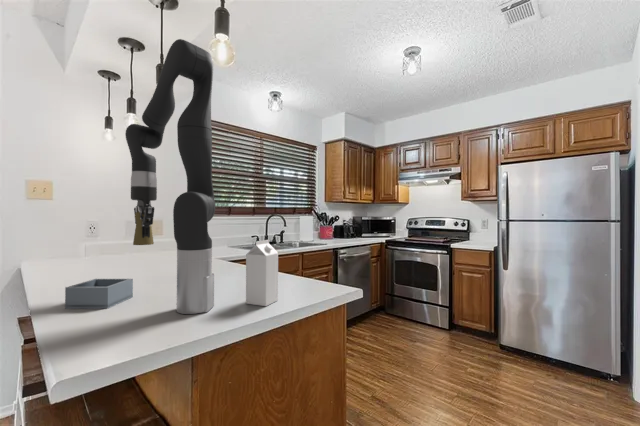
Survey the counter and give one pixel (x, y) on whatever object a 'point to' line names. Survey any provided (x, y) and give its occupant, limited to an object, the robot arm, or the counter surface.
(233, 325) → the counter surface
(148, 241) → the cork
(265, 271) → the milk carton
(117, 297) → the crate
